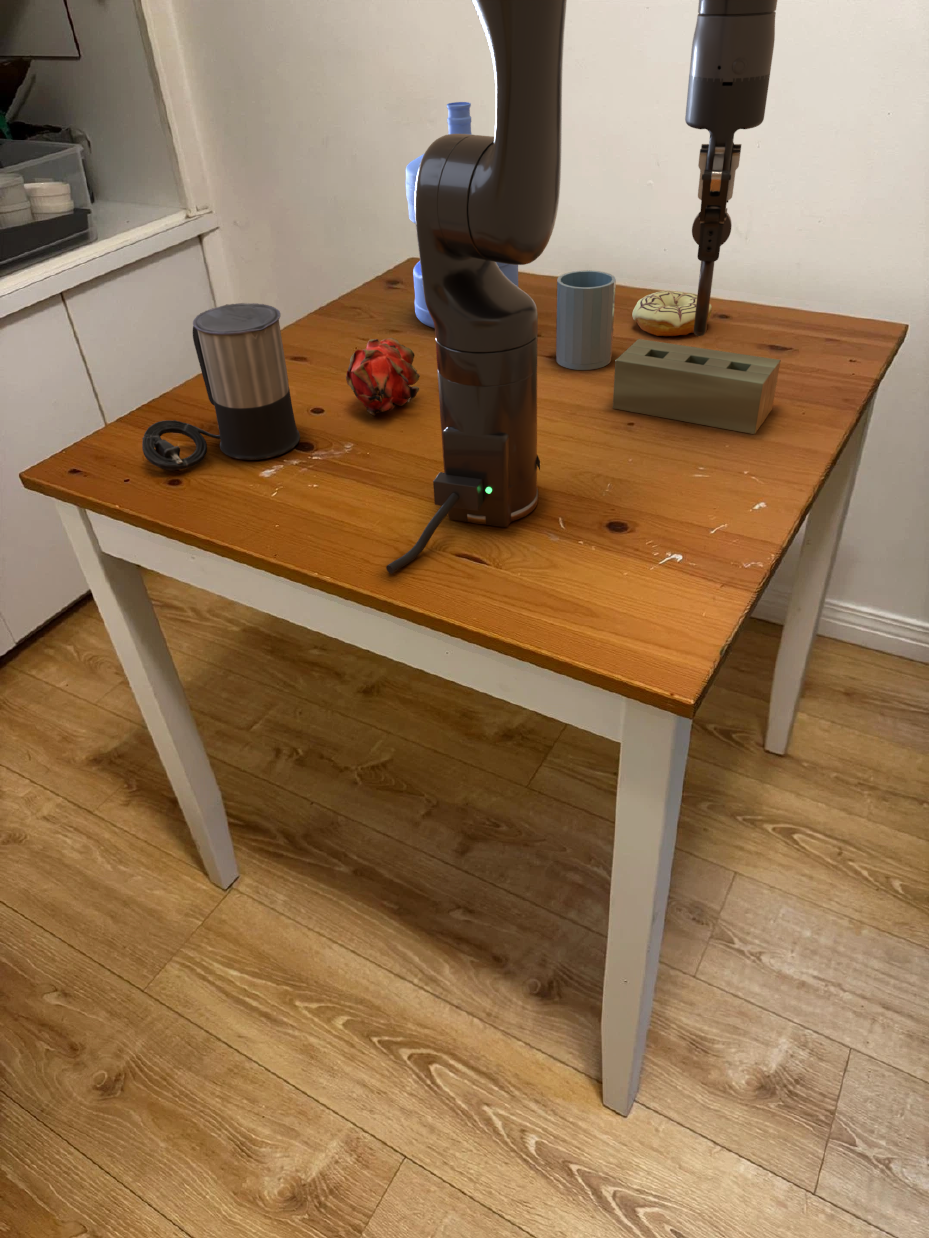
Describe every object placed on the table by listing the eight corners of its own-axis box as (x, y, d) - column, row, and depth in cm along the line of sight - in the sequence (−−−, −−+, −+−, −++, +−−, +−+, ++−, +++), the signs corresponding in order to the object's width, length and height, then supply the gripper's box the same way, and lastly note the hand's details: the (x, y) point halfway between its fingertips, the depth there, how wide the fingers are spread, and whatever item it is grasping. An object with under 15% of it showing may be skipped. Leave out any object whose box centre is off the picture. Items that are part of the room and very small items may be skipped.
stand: (754, 434, 102) (763, 383, 98) (612, 408, 109) (615, 360, 105) (772, 409, 107) (780, 359, 103) (635, 385, 114) (638, 338, 110)
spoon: (717, 334, 103) (734, 206, 95) (717, 339, 102) (733, 209, 94) (681, 332, 104) (694, 205, 96) (680, 337, 103) (693, 209, 95)
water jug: (538, 306, 139) (539, 97, 122) (484, 340, 129) (478, 116, 112) (452, 293, 146) (441, 93, 129) (395, 324, 136) (375, 111, 119)
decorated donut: (618, 330, 130) (620, 303, 127) (658, 308, 136) (660, 282, 134) (683, 344, 124) (686, 317, 122) (721, 321, 130) (725, 294, 128)
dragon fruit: (398, 394, 119) (389, 448, 111) (340, 361, 116) (326, 414, 108) (432, 345, 114) (425, 398, 105) (373, 309, 111) (361, 360, 102)
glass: (604, 372, 118) (608, 290, 112) (549, 367, 120) (550, 286, 114) (616, 352, 123) (621, 272, 117) (563, 347, 125) (565, 269, 119)
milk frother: (317, 435, 107) (298, 308, 98) (225, 495, 96) (193, 359, 87) (226, 413, 113) (200, 292, 104) (130, 467, 102) (92, 338, 93)
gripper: (694, 61, 93) (677, 239, 104) (684, 79, 83) (667, 275, 93) (770, 60, 92) (745, 241, 102) (770, 78, 81) (743, 278, 92)
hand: (708, 257), depth 98 cm, fingers closed on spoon, 1 cm apart
